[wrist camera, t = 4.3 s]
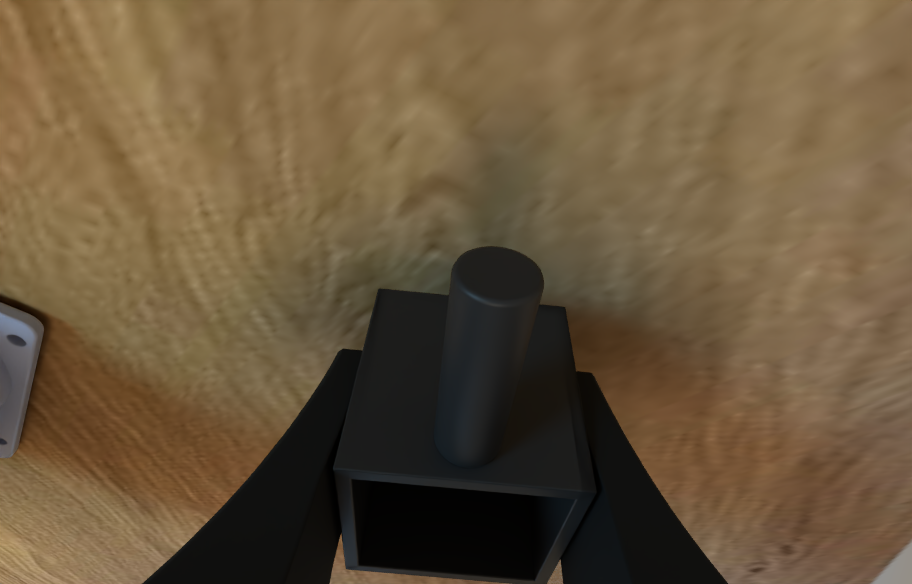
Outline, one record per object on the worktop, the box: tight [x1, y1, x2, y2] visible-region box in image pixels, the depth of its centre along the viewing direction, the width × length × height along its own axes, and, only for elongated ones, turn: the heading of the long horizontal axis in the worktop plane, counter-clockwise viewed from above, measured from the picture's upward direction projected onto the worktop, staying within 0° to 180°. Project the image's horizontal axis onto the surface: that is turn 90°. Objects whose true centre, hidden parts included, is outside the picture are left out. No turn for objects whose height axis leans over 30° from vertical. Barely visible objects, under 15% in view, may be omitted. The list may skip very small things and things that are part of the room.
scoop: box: [333, 246, 597, 584], centre depth 10 cm, size 8×4×5 cm, turn 175°
